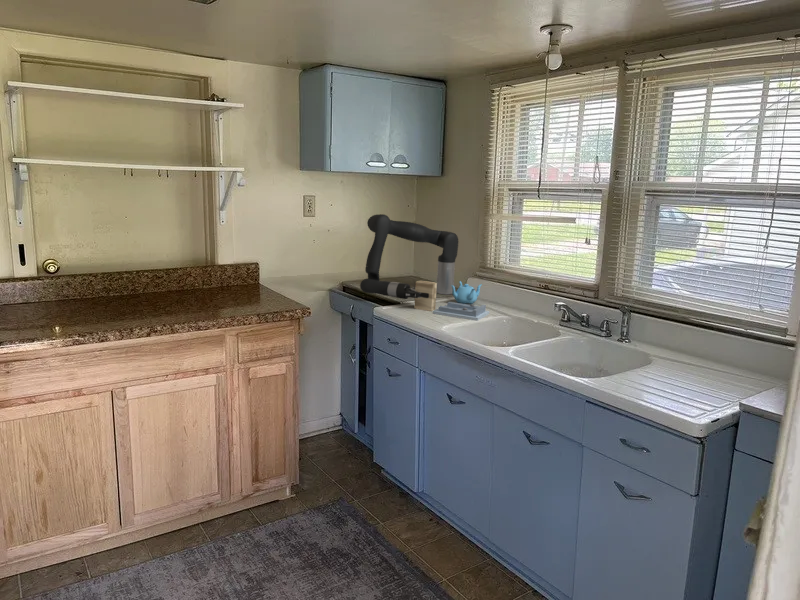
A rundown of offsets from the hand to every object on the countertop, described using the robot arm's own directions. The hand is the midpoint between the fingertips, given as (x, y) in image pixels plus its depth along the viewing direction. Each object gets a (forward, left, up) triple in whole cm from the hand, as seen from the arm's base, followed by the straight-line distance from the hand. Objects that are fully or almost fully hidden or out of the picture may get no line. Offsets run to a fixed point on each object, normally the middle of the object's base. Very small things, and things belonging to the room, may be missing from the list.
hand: (430, 294), depth 280 cm
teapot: (-23, +9, -8) cm, 26 cm away
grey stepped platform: (-2, +15, -7) cm, 17 cm away
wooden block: (0, -3, -7) cm, 8 cm away
